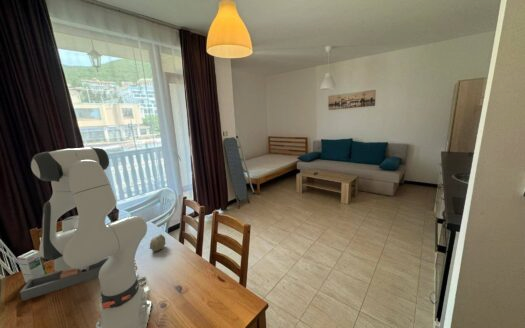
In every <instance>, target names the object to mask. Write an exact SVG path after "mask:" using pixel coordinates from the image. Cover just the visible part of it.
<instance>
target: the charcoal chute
mask: <svg viewBox="0 0 525 328" xmlns="http://www.w3.org/2000/svg"><path fill="white" fill-rule="evenodd" d="M109 257H110V256H109ZM109 257H107V258H106V259H104V260H102V261H100V262H98V263H96V264H93V265H90V266H89V270H88V271H86V272H82V273H79V274H76V275H72V276H69V277H65V278H62V279H61V278H60V275H61V274H62V272H63V270H62V271H59V272H57V271H54V272H51V273H47V275H43V276H40V277H36V278H33V279H29V281H28V282H27V283H26V282H25V285H24V286H23V287H22V288H21V290H20V291H19V294H20V297H21V300H22V302H23V301H24V302H25V301H27V300H30V299H33V298H37V297H40V296H42V295H43V296H44V295H46V294H48V293H53V292H55V291H58V290H59V291H60V290H62V289H65V288H68V287H72V286H75V285H77V284H80V283H81V284H82V283H85V282H88V281H90V280H94V279H97V278H99V277H98V275H99V271H100V269H101V267H102V266H103V264H104V263H105V262H106V261H107V260H108V258H109Z"/></svg>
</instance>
